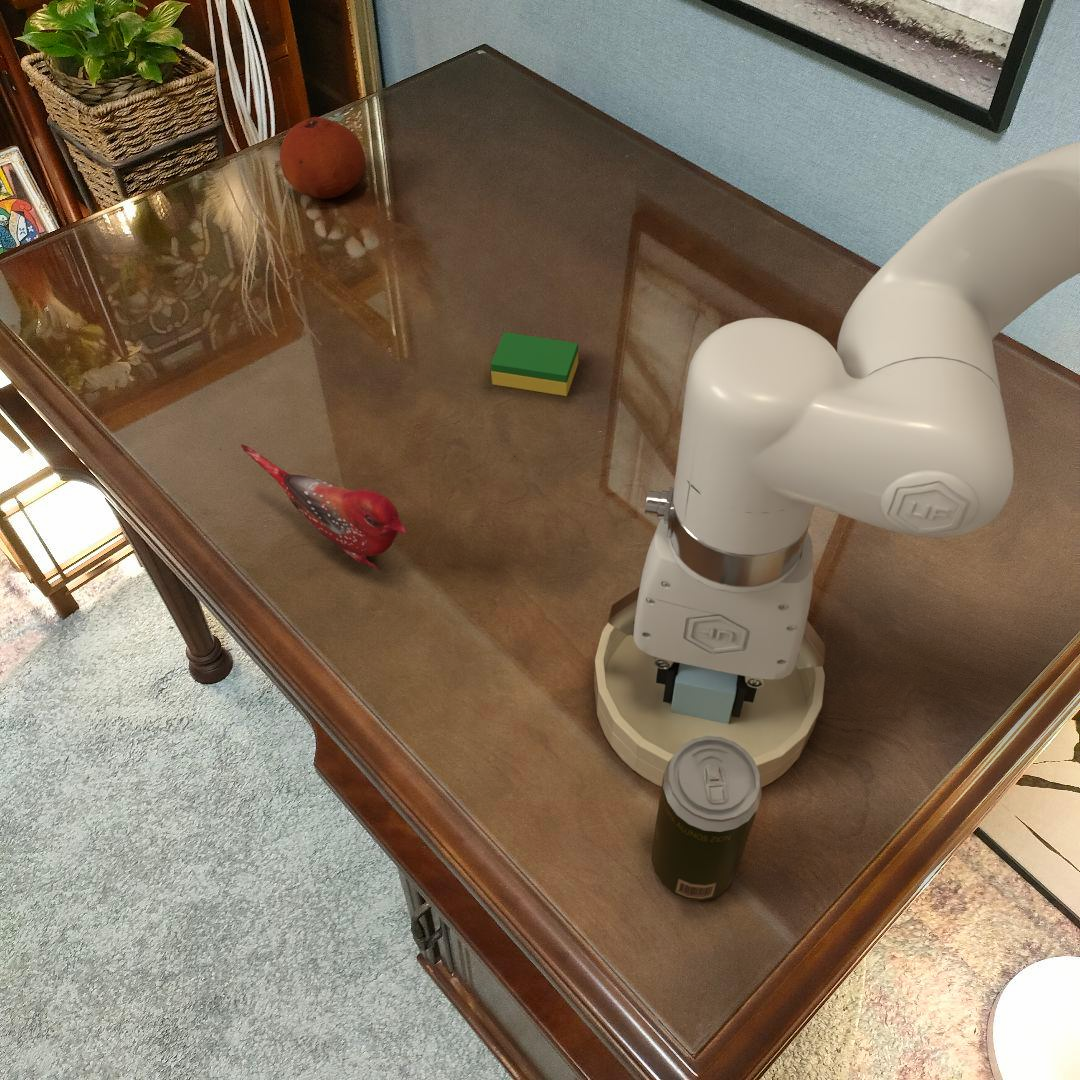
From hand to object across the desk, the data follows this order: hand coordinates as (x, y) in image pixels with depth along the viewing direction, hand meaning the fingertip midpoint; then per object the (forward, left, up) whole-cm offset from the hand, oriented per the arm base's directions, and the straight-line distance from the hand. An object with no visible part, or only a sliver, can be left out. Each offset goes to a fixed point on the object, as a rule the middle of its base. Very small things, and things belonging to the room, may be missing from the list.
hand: (704, 690), depth 71 cm
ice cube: (0, 0, 0) cm, 0 cm away
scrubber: (+20, -30, -1) cm, 36 cm away
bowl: (0, 0, -1) cm, 1 cm away
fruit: (+50, -54, -1) cm, 74 cm away
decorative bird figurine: (+30, -7, -1) cm, 31 cm away
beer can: (-1, +12, -1) cm, 12 cm away
